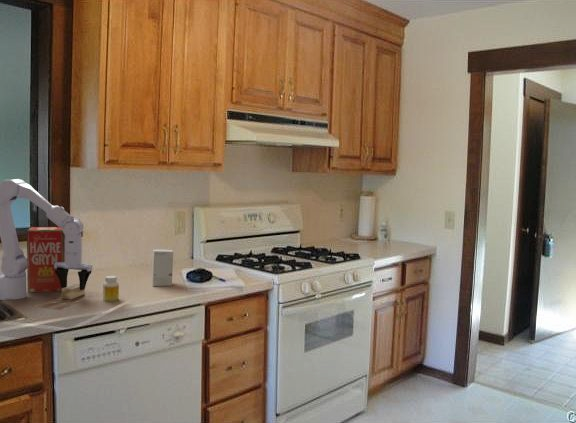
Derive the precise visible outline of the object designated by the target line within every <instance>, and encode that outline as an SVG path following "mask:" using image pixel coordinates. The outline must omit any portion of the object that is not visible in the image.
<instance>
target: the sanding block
mask: <svg viewBox="0 0 576 423" xmlns="http://www.w3.org/2000/svg"><path fill="white" fill-rule="evenodd" d="M85 289H86V288H85ZM85 289H84V290H80V283H74V284H71V285H69V286H68V285H67V287H65V288H62V291H61V295H62V299H63V300H74V299H76V298H79V297H81V296H84V295H86V294H85V292H86V290H85Z"/></svg>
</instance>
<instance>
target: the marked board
mask: <svg viewBox="0 0 576 423" xmlns="http://www.w3.org/2000/svg"><path fill="white" fill-rule="evenodd" d="M92 297H94V295H92V294H85V295H84V296H81V297H79V298H76V299H74V300H63V299H62V294H61V295H59V296H56V297H54V298H53V297H52V298H51V299H49V300H46V301H43V302H40V303H38V304H35V305H33V306H31V307H32V308H42V309H49V310H60V311H61V310H63V309H65V308H67V307H70V306H73V305H76V303H77V304H78V303H79V302H82V301H85V300H87V299H89V298H92Z"/></svg>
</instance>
